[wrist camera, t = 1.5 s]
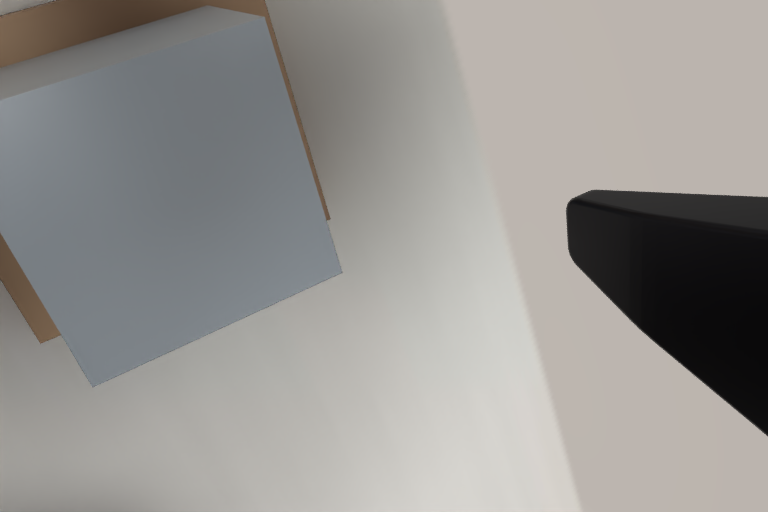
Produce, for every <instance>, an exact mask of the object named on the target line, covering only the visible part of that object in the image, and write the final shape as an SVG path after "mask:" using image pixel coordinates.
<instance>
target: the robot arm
mask: <svg viewBox="0 0 768 512" xmlns="http://www.w3.org/2000/svg"><path fill="white" fill-rule="evenodd" d="M566 216H567V234H568V235H567V236H568V250H569V253H570V256H571V258H572V260H573V261H574V263H575V264H576V265H577V266H578V267H579V268H580V269H581V270H582V271H583V272H584V273H585V274H586V275H587V276H588V277H589V278H590V279H591V281H592V282H594V284H595V285H596V286H597V287H598V288H599V289H600V290H601V291H602V292H603V293H604V294H605V295H606V296H607V297H608V298H609V299H610V300H611V301H612V302H613V303H614V304H615V305H616V306H617V307H618V308H619V309H620V310H621V311H622V312H623V313H624V314H625V315H626V316H627V317H628V318H629V319H630V320H631V321H632V322H633V323H634V324H635V325H636V326H637V327H638V328H639V329H640V330H641V331H642V332H643V333H645V334H646V335H647V336H648V337H649V338H650V339H652V340H653V341H654V342H655V343H656V344H657V345H659V346H660V347H661V348H663V350H665V351H666V352H667V353H668V354H669V355H671V356H672V357H673V358H674V359H675V360H677V361H678V362H679V363H681V364H682V365H683V366H684V367H685V368H686V369H688V370H689V371H690V372H691V373H692V374H693V375H695V376H696V377H697V378H698V379H699V380H701V381H702V382H703V383H704V384H706V385H707V386H708V387H709V388H710V389H711V390H713V391H714V392H715V393H716V394H717V395H719V396H720V397H721V398H722V399H724V400H725V401H726V402H727V403H728V404H730V405H731V406H732V407H733V408H734V409H736V410H737V411H738V412H739V413H740V414H742V415H743V416H744V417H745V418H746V419H748V420H749V421H750V422H751V423H752V424H754V425H755V426H756V427H757V428H758V429H760V430H761V431H762V432H763V433H764V434H766V435H767V436H768V197H752V196H729V195H728V196H727V195H706V194H681V193H659V192H658V193H657V192H635V191H611V190H591V191H588V192H586V193H584V194H581V195H579V196H577V197H575V198H572V199H571V200H570V201H569V202H568V204H567V208H566Z"/></svg>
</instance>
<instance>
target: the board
mask: <svg viewBox="0 0 768 512" xmlns="http://www.w3.org/2000/svg"><path fill="white" fill-rule="evenodd" d="M207 5H209V6H213V7H218V8H223V9H228V10H233V11H238V12H243V13H248V14H253V15H258V16H263V17H265V20H266V23H267V27H268V30H269V33H270V36H271V40H272V43H273V46H274V50H275V53H276V56H277V59H278V63H279V66H280V69H281V73H282V76H283V79H284V82H285V86H286V89H287V92H288V96H289V99H290V102H291V105H292V109H293V112H294V115H295V118H296V122H297V125H298V128H299V132H300V135H301V138H302V141H303V145H304V148H305V151H306V155H307V158H308V161H309V164H310V168H311V171H312V174H313V178H314V181H315V184H316V187H317V191H318V194H319V197H320V201H321V204H322V207H323V210H324V214H325V217H326V220H329V219H330V216H329V213H328V209H327V206H326V203H325V199H324V196H323V193H322V189H321V186H320V183H319V179H318V176H317V173H316V169H315V166H314V163H313V160H312V156H311V153H310V150H309V146H308V143H307V140H306V136H305V133H304V130H303V126H302V123H301V120H300V116H299V113H298V110H297V106H296V103H295V100H294V96H293V93H292V90H291V86H290V83H289V80H288V76H287V73H286V70H285V66H284V63H283V60H282V57H281V53H280V50H279V47H278V43H277V40H276V37H275V33H274V30H273V27H272V23H271V20H270V17H269V13H268V10H267V7H266V3H265V0H56V1H52V2H49V3H45V4H42V5H38V6H34V7H31V8H27V9H24V10H20V11H16V12H13V13H9V14H6V15H2V16H0V68H1V67H5V66H8V65H11V64H15V63H18V62H21V61H25V60H28V59H31V58H34V57H38V56H41V55H44V54H48V53H51V52H54V51H58V50H61V49H64V48H68V47H71V46H74V45H78V44H81V43H84V42H88V41H91V40H94V39H97V38H101V37H104V36H107V35H111V34H114V33H117V32H121V31H124V30H127V29H131V28H134V27H137V26H141V25H144V24H147V23H150V22H154V21H157V20H160V19H164V18H167V17H170V16H174V15H177V14H180V13H184V12H187V11H190V10H194V9H197V8H200V7H203V6H207ZM0 279H1V281H2V283H3V284H4V286H5V287H6V289H7V291H8V292H9V294H10V295H11V297H12V299H13V300H14V302H15V303H16V305H17V307H18V308H19V310H20V311H21V313H22V315H23V316H24V318H25V320H26V321H27V323H28V324H29V326H30V328H31V329H32V331H33V332H34V334H35V336H36V337H37V339H38V340H39V342H40V344H41V343H43V342H46V341H48V340H50V339H53V338H55V337H57V336H60V335H61V334H60V332H59V330H58V329H57V327H56V325H55V324H54V322H53V320H52V319H51V317H50V315H49V313H48V312H47V310H46V308H45V307H44V305H43V303H42V302H41V300H40V298H39V297H38V295H37V293H36V292H35V290H34V288H33V287H32V285H31V283H30V282H29V280H28V278H27V277H26V275H25V273H24V272H23V270H22V268H21V267H20V265H19V263H18V262H17V260H16V258H15V257H14V255H13V253H12V252H11V250H10V248H9V246H8V245H7V243H6V241H5V240H4V238H3V236H2V235H1V233H0Z"/></svg>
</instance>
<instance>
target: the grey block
mask: <svg viewBox="0 0 768 512" xmlns="http://www.w3.org/2000/svg"><path fill="white" fill-rule="evenodd" d="M0 233H1V235H2V236H3V238H4V240H5V241H6V243H7V245H8V246H9V248H10V250H11V252H12V253H13V255H14V257H15V258H16V260H17V262H18V263H19V265H20V267H21V268H22V270H23V272H24V273H25V275H26V277H27V278H28V280H29V282H30V283H31V285H32V287H33V288H34V290H35V292H36V293H37V295H38V297H39V298H40V300H41V302H42V303H43V305H44V307H45V308H46V310H47V312H48V313H49V315H50V317H51V319H52V320H53V322H54V324H55V325H56V327H57V329H58V330H59V332H60V334H61V335H62V337H63V339H64V340H65V342H66V344H67V345H68V347H69V349H70V350H71V352H72V354H73V355H74V357H75V359H76V360H77V362H78V364H79V365H80V367H81V369H82V370H83V372H84V374H85V375H86V377H87V379H88V381H89V382H90V384H91V386H92V387H95V386H97V385H99V384H101V383H103V382H105V381H108V380H110V379H112V378H114V377H116V376H119V375H121V374H123V373H125V372H127V371H129V370H132V369H134V368H136V367H138V366H140V365H142V364H145V363H147V362H149V361H151V360H153V359H155V358H158V357H160V356H162V355H164V354H166V353H169V352H171V351H173V350H175V349H177V348H179V347H182V346H184V345H186V344H188V343H190V342H192V341H195V340H197V339H199V338H201V337H203V336H205V335H208V334H210V333H212V332H214V331H216V330H219V329H221V328H223V327H225V326H227V325H229V324H232V323H234V322H236V321H238V320H240V319H242V318H245V317H247V316H249V315H251V314H253V313H255V312H258V311H260V310H262V309H264V308H266V307H269V306H271V305H273V304H275V303H277V302H279V301H282V300H284V299H286V298H288V297H290V296H292V295H295V294H297V293H299V292H301V291H303V290H305V289H308V288H310V287H312V286H314V285H316V284H319V283H321V282H323V281H325V280H327V279H329V278H332V277H334V276H336V275H338V274H340V273H342V269H341V266H340V263H339V260H338V256H337V253H336V250H335V246H334V243H333V240H332V237H331V233H330V230H329V227H328V224H327V220H326V217H325V214H324V210H323V207H322V204H321V201H320V197H319V194H318V191H317V187H316V184H315V181H314V178H313V174H312V171H311V168H310V164H309V161H308V158H307V155H306V151H305V148H304V145H303V141H302V138H301V135H300V132H299V128H298V125H297V122H296V118H295V115H294V112H293V109H292V105H291V102H290V99H289V96H288V92H287V89H286V86H285V82H284V79H283V76H282V73H281V69H280V66H279V63H278V59H277V56H276V53H275V50H274V46H273V43H272V40H271V36H270V33H269V30H268V27H267V23H266V20H265V17H263V16H258V15H253V14H248V13H243V12H238V11H233V10H228V9H223V8H218V7H213V6H209V5H207V6H203V7H200V8H197V9H194V10H190V11H187V12H184V13H180V14H177V15H174V16H170V17H167V18H164V19H160V20H157V21H154V22H150V23H147V24H144V25H141V26H137V27H134V28H131V29H127V30H124V31H121V32H117V33H114V34H111V35H107V36H104V37H101V38H97V39H94V40H91V41H88V42H84V43H81V44H78V45H74V46H71V47H68V48H64V49H61V50H58V51H54V52H51V53H48V54H44V55H41V56H38V57H34V58H31V59H28V60H25V61H21V62H18V63H15V64H11V65H8V66H5V67H1V68H0Z"/></svg>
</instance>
